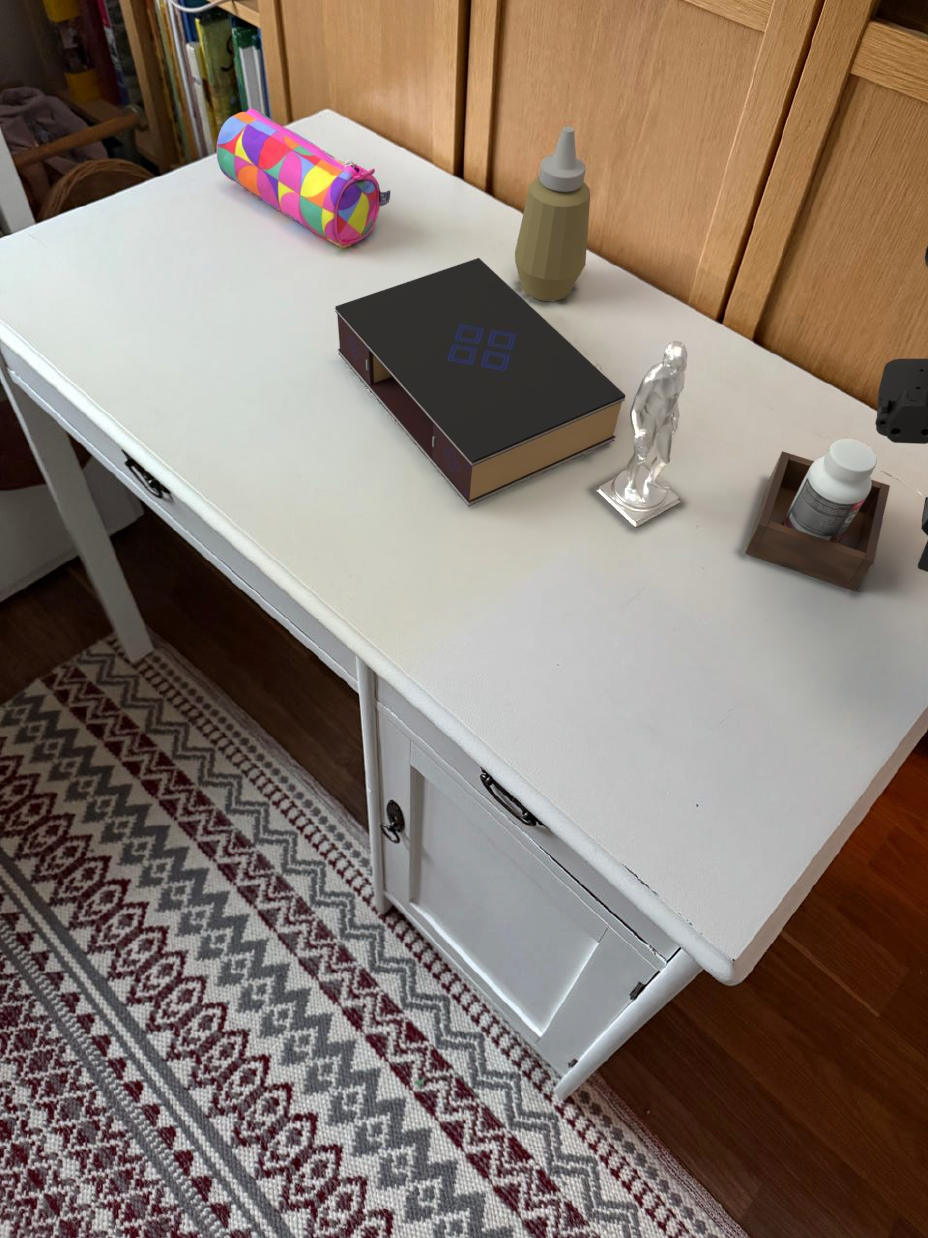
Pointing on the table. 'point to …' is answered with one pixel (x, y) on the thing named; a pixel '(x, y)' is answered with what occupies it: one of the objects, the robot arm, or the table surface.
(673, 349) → the figurine
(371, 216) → the pencil case
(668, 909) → the table surface
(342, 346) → the book
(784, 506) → the holder
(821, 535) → the pill bottle
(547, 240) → the squeeze bottle
